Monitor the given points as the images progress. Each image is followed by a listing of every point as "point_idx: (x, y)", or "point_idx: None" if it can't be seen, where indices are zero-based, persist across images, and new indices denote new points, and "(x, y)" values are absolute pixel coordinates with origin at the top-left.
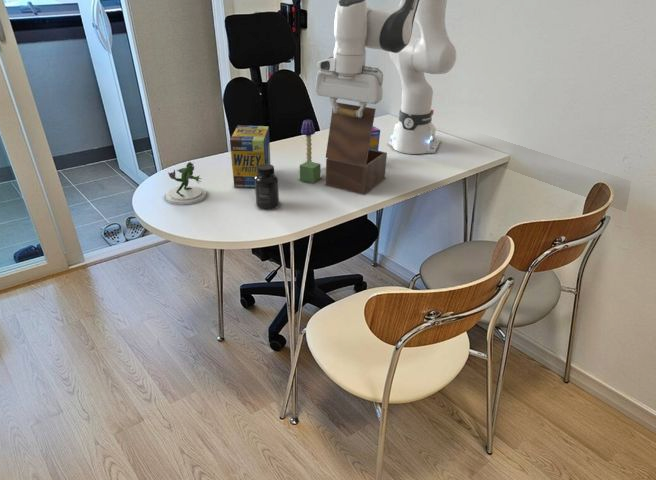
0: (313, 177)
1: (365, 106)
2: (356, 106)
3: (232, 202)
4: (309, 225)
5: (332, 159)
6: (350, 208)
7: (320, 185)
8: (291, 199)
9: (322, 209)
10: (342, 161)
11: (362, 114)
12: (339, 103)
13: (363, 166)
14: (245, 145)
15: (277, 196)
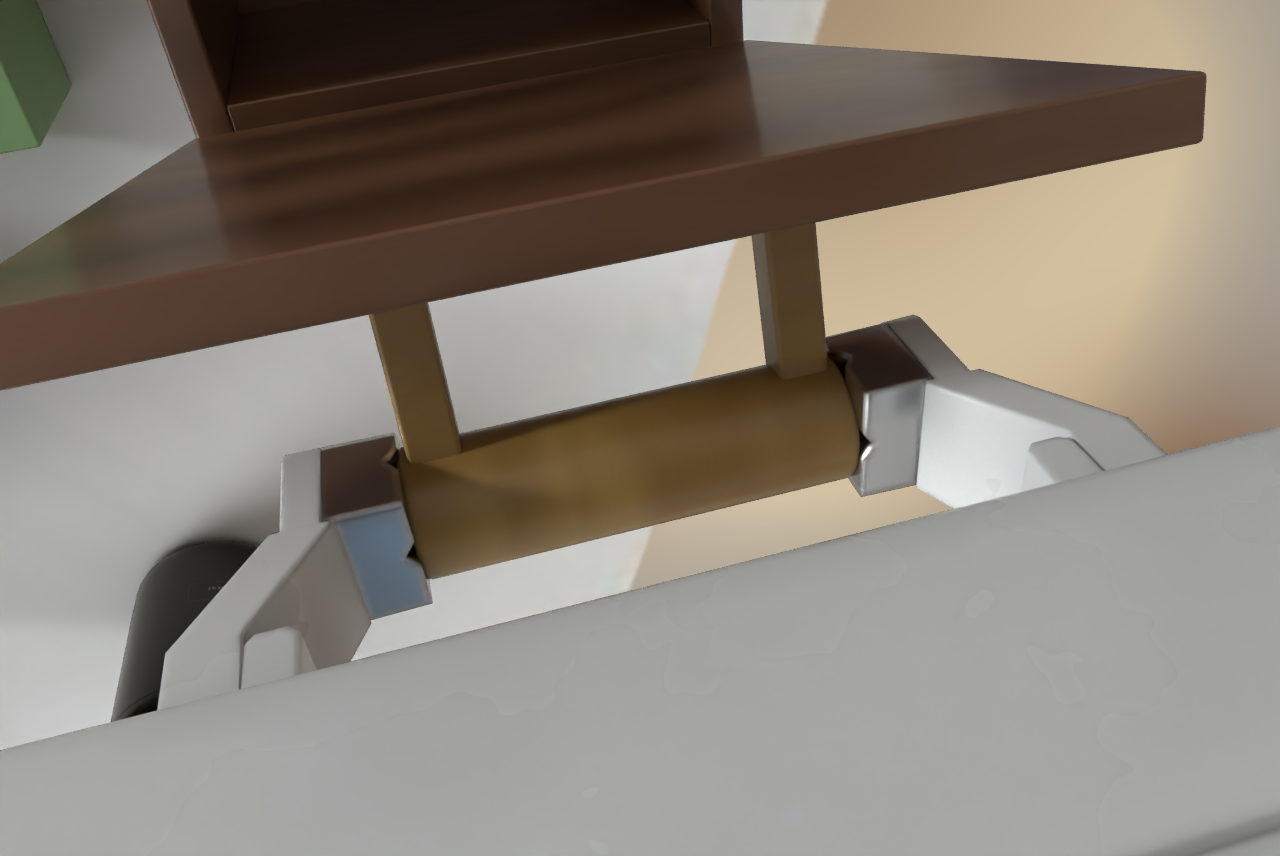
0: (55, 90)
1: (1079, 408)
2: (707, 238)
3: (10, 714)
4: (627, 567)
5: (273, 108)
6: (703, 256)
7: None
8: (255, 441)
9: (552, 396)
10: (416, 76)
11: (928, 327)
12: (165, 355)
13: (710, 37)
14: None
15: None
